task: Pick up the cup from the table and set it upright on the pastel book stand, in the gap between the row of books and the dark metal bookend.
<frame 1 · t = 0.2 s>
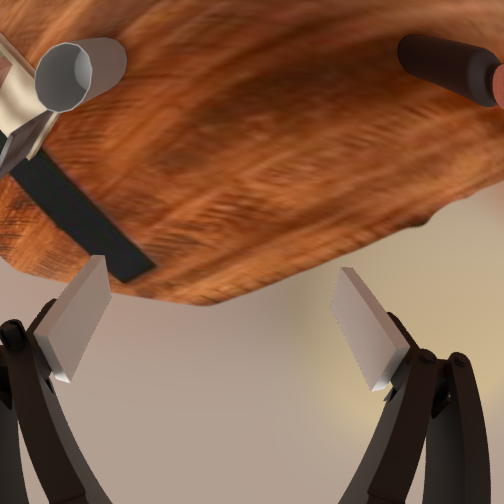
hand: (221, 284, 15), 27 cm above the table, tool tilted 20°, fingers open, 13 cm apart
bottle: (415, 55, 26), on the table
pastel book stand: (11, 90, 24), on the table
cup: (100, 64, 26), on the table
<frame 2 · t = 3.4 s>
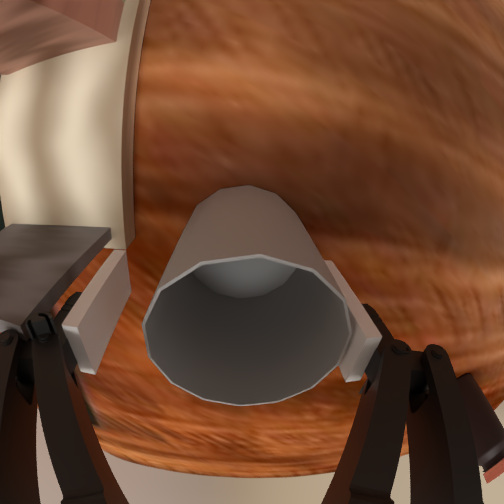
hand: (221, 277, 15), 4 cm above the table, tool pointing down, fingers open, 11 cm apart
bottle: (455, 385, 32), on the table
pastel book stand: (65, 79, 13), on the table
cup: (243, 243, 20), on the table, touching gripper
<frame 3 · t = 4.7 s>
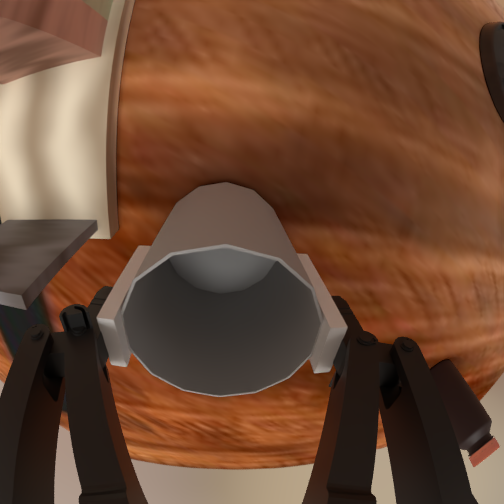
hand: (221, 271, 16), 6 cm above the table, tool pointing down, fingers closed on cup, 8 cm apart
bottle: (435, 372, 36), on the table
pastel book stand: (56, 89, 15), on the table
cup: (222, 239, 20), point 2 cm above the table, touching gripper
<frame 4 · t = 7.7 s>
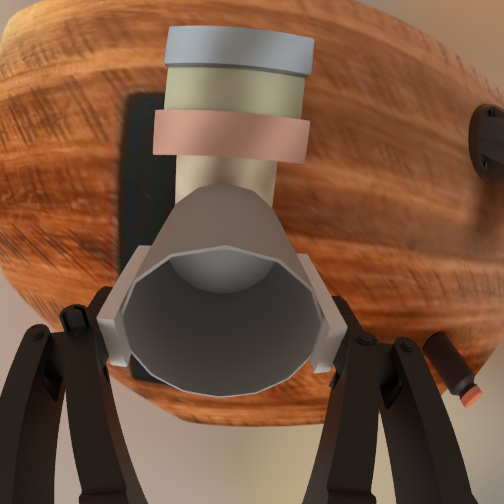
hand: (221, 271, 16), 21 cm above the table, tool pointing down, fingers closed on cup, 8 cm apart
bottle: (433, 341, 54), on the table
pastel book stand: (227, 154, 33), on the table
cup: (222, 240, 20), point 17 cm above the table, touching gripper
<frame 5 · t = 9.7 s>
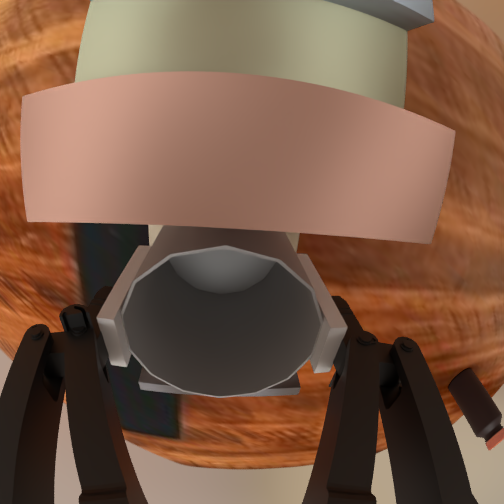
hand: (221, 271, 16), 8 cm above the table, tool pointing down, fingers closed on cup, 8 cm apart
bottle: (459, 377, 42), on the table
pastel book stand: (227, 169, 21), on the table
cup: (222, 240, 20), point 4 cm above the table, touching gripper
when the fingers open (6 cm above the table, at t = 11.1 s): cup stays where it is, resting on pastel book stand.
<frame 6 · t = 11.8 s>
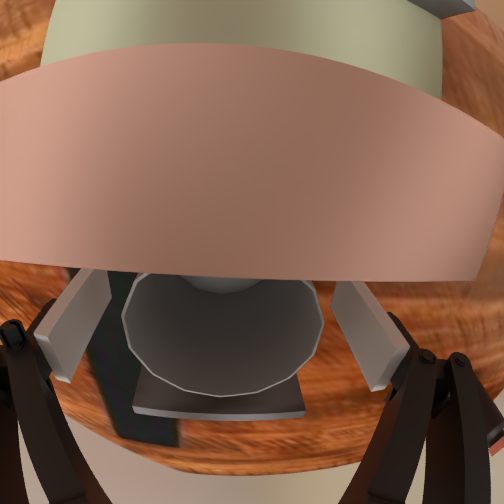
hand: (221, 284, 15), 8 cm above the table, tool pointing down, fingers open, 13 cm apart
bottle: (462, 383, 41), on the table
pastel book stand: (226, 173, 20), on the table
cup: (223, 239, 20), point 2 cm above the table, touching pastel book stand
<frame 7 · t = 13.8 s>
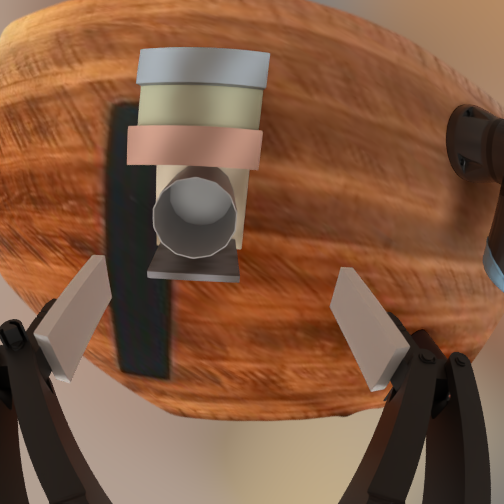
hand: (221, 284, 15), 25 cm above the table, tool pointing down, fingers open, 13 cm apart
bottle: (415, 339, 57), on the table
pastel book stand: (203, 159, 35), on the table
cup: (201, 194, 35), point 2 cm above the table, touching pastel book stand
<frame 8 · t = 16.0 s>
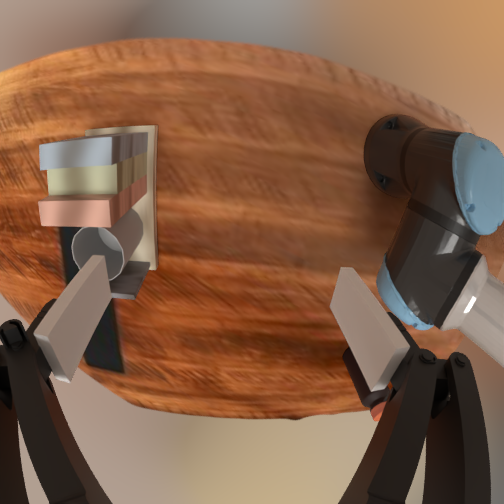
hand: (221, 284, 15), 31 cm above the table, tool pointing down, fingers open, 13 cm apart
bottle: (354, 352, 63), on the table
pastel book stand: (122, 198, 42), on the table
cup: (120, 227, 42), point 2 cm above the table, touching pastel book stand
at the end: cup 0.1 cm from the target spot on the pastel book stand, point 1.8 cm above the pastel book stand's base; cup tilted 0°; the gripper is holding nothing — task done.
